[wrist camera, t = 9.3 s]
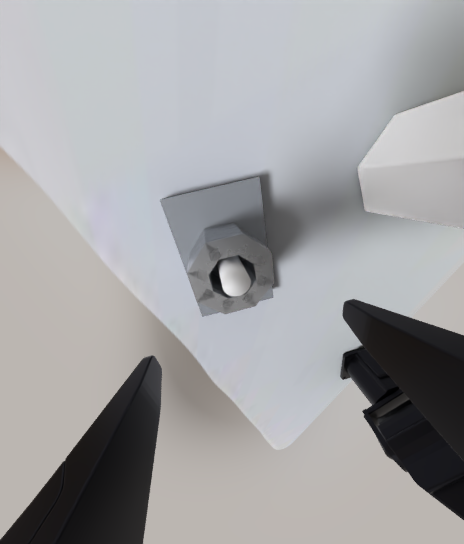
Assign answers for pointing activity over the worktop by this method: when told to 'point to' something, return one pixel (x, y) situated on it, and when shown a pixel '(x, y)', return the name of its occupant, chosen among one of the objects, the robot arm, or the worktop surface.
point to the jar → (419, 165)
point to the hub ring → (223, 245)
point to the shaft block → (212, 212)
